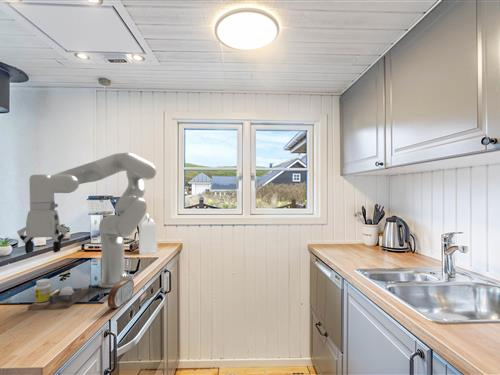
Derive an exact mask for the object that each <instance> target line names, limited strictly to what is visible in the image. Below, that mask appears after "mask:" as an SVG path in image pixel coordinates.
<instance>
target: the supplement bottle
mask: <svg viewBox="0 0 500 375" xmlns="http://www.w3.org/2000/svg"><path fill="white" fill-rule="evenodd" d="M51 286H52V285H51V284H50V279H49V278H41V279H38V280H36V281H35V287H34V290H35V291H34V292H35V299H34V300H35V301H34V303H36V304H37V305H42V304H46V303H49V302H50V296H51V292H52V291H51V290H52V288H51Z"/></svg>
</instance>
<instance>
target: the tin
mask: <svg viewBox="0 0 500 375" xmlns="http://www.w3.org/2000/svg"><path fill="white" fill-rule="evenodd" d="M134 287H135V282H134V279H123V280H122V281H120V282H118V283H117V284H115V285H114V286H113V287H110V290H109V292H108V296H107V306H108V307H109V308H110V309H118V308H120V307H122V306H123V305H124V304H125V303H127V302H128V301H129V300H130V299H131V298H132V296H133V294H134Z"/></svg>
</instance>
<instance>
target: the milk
mask: <svg viewBox="0 0 500 375" xmlns="http://www.w3.org/2000/svg"><path fill="white" fill-rule="evenodd" d="M137 251H138V253H139V255H147V254H155V253H158V252H159V251H158V231H157V224H156V223H155V220H154V219H153V218H150V214H149V213H145V218H144V219H142V220H141V221H140V223H139V225H138V250H137Z"/></svg>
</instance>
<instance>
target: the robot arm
mask: <svg viewBox="0 0 500 375" xmlns="http://www.w3.org/2000/svg"><path fill="white" fill-rule="evenodd" d="M121 172H125V173H126V178H127V181H128V185H127V187H126V189H125V191H124V192H123V193H122V194H121V196H120V198H119V199H118V201H117V202H116V204H115V206H114V207H115V208H114V210H115V212H116V214H117V215H116V214H115V215H114V214H110V215H106V216H104V217H103V218H101V220H100V221H99V225H98V229H99V235H100V242H101V244H100V245H101V280H99V281H98V283H97V286H98V287H100V288H105V289H106V288H107V289H109V288H110V289H111V288H112V287H113V286H114V285H115V284H117V283H118V282H120V281H122V280H123V279H132V280H134V279H135V278H134V277H135V276H134V274H133V273H131V274H130V273H129V274H128V272H127V270H126V271H125V240H124V238H128V237H130V236H131V235H132V234H133V233H135V231H136V229H137V228H138V227H139V224H140V223H141V222H142V221H143V218H144V217H145V216H146V214H147V213H146V212H147V209H148V204H147V202H146V200H145V199H144V198H143V197H144V195H145V192H146V187H145V182H144V181H148V180H152V179H154V177H155V176H156V175H157V169H156V167H155V165H154V164H153V163H152V162H150V161H148V160H146V159H144V158H142V157H140V156H139V155H136V154H134V153H132V152H120V153H114V154H111V155H109V156H108V155H107V156H104V157H102V158H100V159H96V160H94V161H91V162H88V163H84V164H82V165H79V166H76V167H73V168H68V169H66V170H63V171H60V172H58V173H55V174H32V175H30V176H29V181H28V182H29V211H28V212H27V215H26V219H25V220H26V222H25V226H24V227H23V228H21V229H19V230H17V231H16V233H17V234H18V236H19V239H21V241H22V242H23V243H24V249H25V254H30V253H33V252H34V241H33V240H34V239H35V238H51V239H52V240H54V242H53V243H52V245H53V247H52V250H53V253H59V252H60V251H61V248H62V245H61V244H62V241H63V239H64V238H65V237H66V235H67V233H68V231H69V229H68V228H65V227H63V226H62V225H61V223H60V216H59V214H58V210H57V209H56V208H58V207H59V205H58V203H55V194H71V193H73V192H75V191H77V189H78V188H79V185H82V184H86V183H93V182H97V181H98V182H99V181H101V180H104V179H106V178H109V177H110V176H113V175H115V174H119V173H121Z"/></svg>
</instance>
